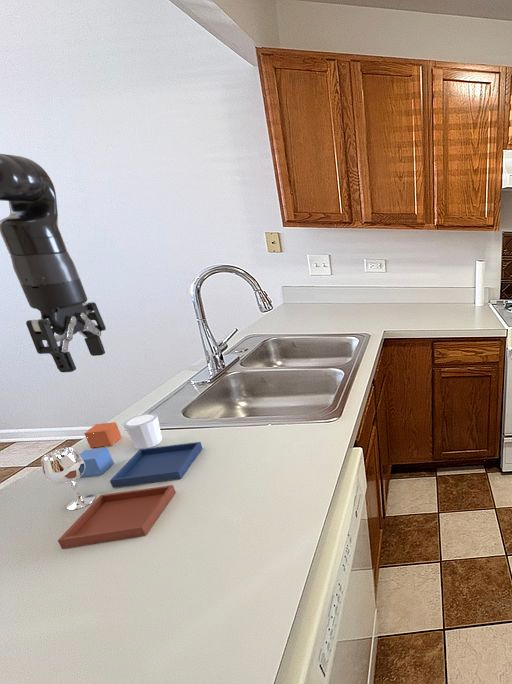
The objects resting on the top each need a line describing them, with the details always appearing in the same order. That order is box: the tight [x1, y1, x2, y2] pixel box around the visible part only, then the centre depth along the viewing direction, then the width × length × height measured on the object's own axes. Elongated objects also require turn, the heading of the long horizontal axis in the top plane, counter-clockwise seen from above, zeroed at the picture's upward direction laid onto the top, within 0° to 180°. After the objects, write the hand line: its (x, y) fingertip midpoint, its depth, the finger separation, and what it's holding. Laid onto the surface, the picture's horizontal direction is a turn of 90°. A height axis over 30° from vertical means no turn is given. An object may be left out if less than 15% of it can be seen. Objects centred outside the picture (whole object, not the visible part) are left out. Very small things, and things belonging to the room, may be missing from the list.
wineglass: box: [40, 446, 97, 511], centre depth 80 cm, size 6×6×12 cm
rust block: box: [84, 421, 122, 449], centre depth 102 cm, size 4×4×4 cm
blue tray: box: [109, 441, 203, 489], centre depth 93 cm, size 13×12×2 cm
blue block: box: [78, 447, 114, 479], centre depth 91 cm, size 4×4×4 cm
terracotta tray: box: [57, 484, 177, 550], centre depth 78 cm, size 13×12×2 cm
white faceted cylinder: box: [122, 412, 163, 450], centre depth 101 cm, size 7×7×7 cm
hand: (84, 362), depth 77 cm, fingers open, 8 cm apart
